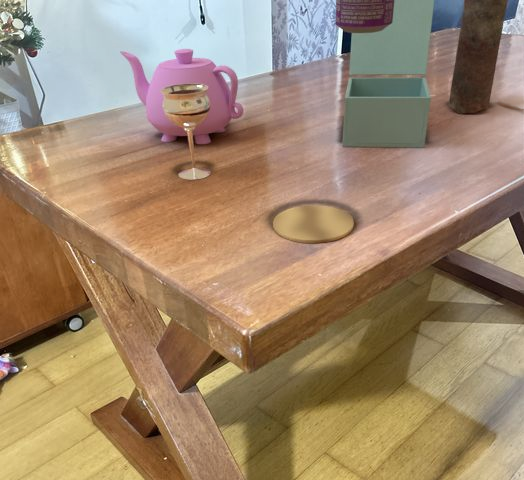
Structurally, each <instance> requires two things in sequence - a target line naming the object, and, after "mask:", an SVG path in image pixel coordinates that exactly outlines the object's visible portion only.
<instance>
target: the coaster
mask: <svg viewBox="0 0 524 480" xmlns="http://www.w3.org/2000/svg"><path fill="white" fill-rule="evenodd" d="M354 227H355V221H354V218H353V216H352V215H350V214H349V213H348V212H346V211H345V210H342V209H341V208H337V207H333V206H327V205H316V204H314V205H312V204H311V205H309V204H308V205H301V206H295V207H291V208H287V209H286V210H283V211H281V212H279V213H278V214H277V215H276V216H275V217H274V219H273V220H272V228H273V231H274V232H275V233H276V234H277V235H278V236H279V237H281V238H284V239H286V240H288V241H292V242H297V243H302V244H303V243H304V244H321V243H329V242H334V241H338V240H340V239H343V238H344V237H346V236H348V235H350V234H351V232H352V231H353V229H354Z"/></svg>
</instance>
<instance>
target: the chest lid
mask: <svg viewBox="0 0 524 480" xmlns="http://www.w3.org/2000/svg"><path fill="white" fill-rule="evenodd" d="M434 7H435V0H394V10H393V22H392V24H390V25H389V26H387V27H386V28H384V29H383V30H382V31H379V32H373V33H351V41H350V54H349V55H350V56H349V57H350V58H349V73H348V74H349V76H395V75H396V76H413V75H414V76H417V75H419V76H421V75H422V76H423V75H424V76H425V75H427V71H428V61H429V53H430V43H431V36H432V35H431V34H432V25H433V15H434V9H435V8H434Z"/></svg>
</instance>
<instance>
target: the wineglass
mask: <svg viewBox="0 0 524 480" xmlns="http://www.w3.org/2000/svg"><path fill="white" fill-rule="evenodd" d="M207 89H208V86H207V85H204V84H197V83H186V84H176V85H171V86H167V87H164V88H163V89H161V93H162V94H163V96H164V100H163V110H164V113H165V115H166V117H167V118H168V119H169V120H170V121H171V122H173V123H174V124H175V125H177V126H179V127H182V128H184V130H185V131H187V135H188V136H187V141H188V146H189V153H190V158H191V166H192V167H190V168H187V169H184V170H182V171H180V172H179V173H178V177H179V178H181V179H183V180H188V181H189V180H190V181H191V180H192V181H193V180H200V179H204V178H207V177H209V176H210V175H211V174H212V171H211V170H210V169H208V168H204V167H196V159H195V146H194V136H193V133H192V131H194V129H195V127H196V126H198V125H199V124H201V123H202V122H203V121H204V120H205V118H206V117H207V116H208V114H209V110H210V100H209V97H208V96H207V94H206V92H207Z"/></svg>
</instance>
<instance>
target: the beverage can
mask: <svg viewBox="0 0 524 480" xmlns="http://www.w3.org/2000/svg"><path fill="white" fill-rule="evenodd" d="M393 10H394V0H335V20H334V23H335V24H334V25H335V26H336V27H338V28H339V29H341V30H342V31H343V32H345V33H349V34H352V33H373V32H379V31H382V30H383V29H384V28H386V27H387V26H389V25H390V24H392V22H393Z"/></svg>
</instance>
